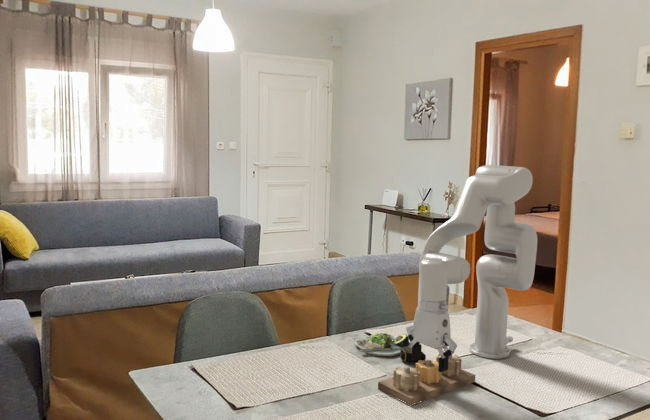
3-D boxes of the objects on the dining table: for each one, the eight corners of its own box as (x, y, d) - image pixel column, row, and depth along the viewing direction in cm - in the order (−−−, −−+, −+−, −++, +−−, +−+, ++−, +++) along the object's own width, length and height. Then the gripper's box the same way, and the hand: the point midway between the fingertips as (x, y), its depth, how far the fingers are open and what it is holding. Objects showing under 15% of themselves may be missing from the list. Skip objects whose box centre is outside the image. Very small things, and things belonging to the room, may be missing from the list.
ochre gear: (427, 371, 164) (427, 357, 164) (446, 379, 159) (446, 365, 159) (410, 376, 160) (410, 363, 160) (429, 385, 155) (429, 371, 154)
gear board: (442, 367, 172) (443, 341, 171) (475, 381, 163) (476, 354, 162) (377, 389, 156) (379, 360, 155) (410, 405, 147) (411, 375, 146)
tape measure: (426, 364, 175) (427, 352, 174) (405, 366, 173) (406, 354, 172) (416, 356, 181) (416, 344, 181) (396, 358, 179) (396, 346, 179)
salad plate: (377, 364, 174) (378, 350, 174) (341, 347, 188) (341, 333, 188) (423, 352, 186) (423, 338, 185) (385, 336, 200) (385, 323, 199)
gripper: (466, 310, 153) (463, 372, 155) (417, 294, 166) (415, 352, 168) (447, 315, 148) (444, 379, 150) (399, 299, 161) (397, 358, 164)
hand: (429, 364), depth 159 cm, fingers open, 9 cm apart
